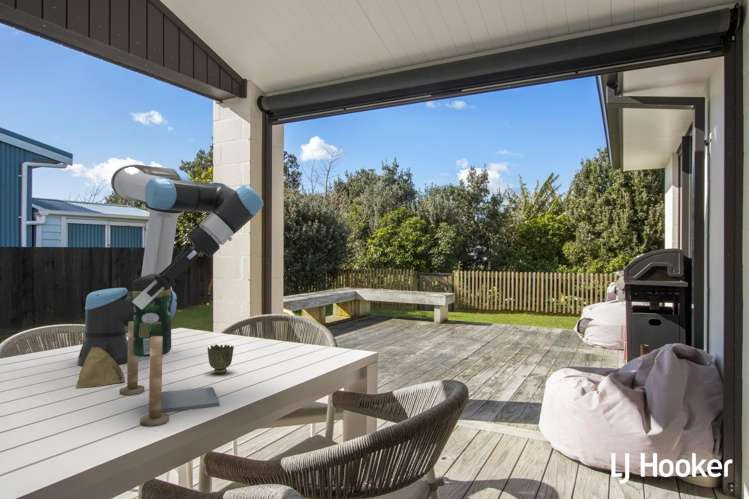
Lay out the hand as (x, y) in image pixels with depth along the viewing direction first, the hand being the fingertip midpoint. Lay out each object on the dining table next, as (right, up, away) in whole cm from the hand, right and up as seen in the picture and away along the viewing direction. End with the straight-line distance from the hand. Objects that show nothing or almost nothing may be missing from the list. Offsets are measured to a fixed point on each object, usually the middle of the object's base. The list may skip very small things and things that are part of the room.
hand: (137, 303), depth 110 cm
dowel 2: (+8, -24, -9) cm, 27 cm away
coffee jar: (+3, -12, +1) cm, 13 cm away
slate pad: (+9, -24, +6) cm, 27 cm away
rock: (-19, -24, +18) cm, 35 cm away
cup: (+9, -25, +31) cm, 41 cm away
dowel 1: (-7, -24, +12) cm, 28 cm away
